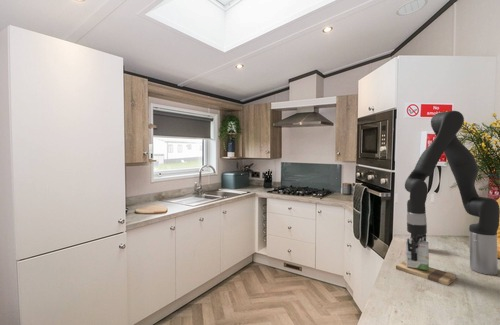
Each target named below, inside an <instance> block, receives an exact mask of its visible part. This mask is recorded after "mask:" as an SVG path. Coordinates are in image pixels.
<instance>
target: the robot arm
mask: <svg viewBox="0 0 500 325" xmlns="http://www.w3.org/2000/svg"><path fill="white" fill-rule="evenodd" d="M464 122H465V118H464V115H463V113H462V112H460V111H458V110H448V111H442V112H437V113H435V114H434V115H433V116H432V117H431V118H430V125H431V129H432V130H433V133H434V134H435V138H434V139H433V141H432V142H431V143H430V144H429V145H428V147H426V148H425V150H424V151H423V152H422V153H421V155H420V156H419V158H418V161H417V162H416V164H415V167H414V169H413V170H412V171H411V173H410V174H409V175H408V177H407V178H406V179H405V183H404V189H405V191H407V192H408V193H409V199H408V200H407V202H406V212H407V213H406V231H407V232H408V233H409V234H410V238H406V240H407V243H408V251H409V252H411V260H413V261H417V250H418V248H419V246H420V242H423V241H427V233H428V224H427V214H426V203H427V198H428V185H427V183H426V181H425V180H426V179H427V178H429V177H430V176H431V175H432V174H433V173H434V171H435V169H436V167H437V165H438V163H439V161H440V159H441V157H442V155H443V154H444V155H445V158H446V160H447V162H448V165H449V167H450V170H451V173H452V175H453V177H454V180H455V182H456V185H457V188H458V190H459V194H460V197H461V202H462V206H463V208H464V211H465V212H466V213H467V214H469V215H471V216H474V217H477V218H478V222H477V223H471V224H470V225H469V227H468V231H469V232H468V233H469V236H468V237H469V268H470V269H471V270H472V271H473V272H476V273H479V274H484V275H494V276H495V275H498V274H499V273H498V271H499V270H498V269H499V268H498V262H499V261H498V230H499V228H500V205H499V202H498V201H497V200H496V199H494V198H491V197H485V196H480V195H479V194H478V192H477V189H476V185H475V184H476V180H477V178H478V174H479V166H478V164H477V162H476V159H475V157H474V155H473V154H472V152H471V151H470V150H469V148H467V147H466V146H465V145H464V144H463V143H462V142H461V141H460V139H459V138H458V136H457V134H458V132H460V130H461V129H462V127H463V125H464ZM415 245H417V246H415ZM410 247H411V248H410Z"/></svg>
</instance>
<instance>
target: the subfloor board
mask: <svg viewBox="0 0 500 325" xmlns="http://www.w3.org/2000/svg"><path fill="white" fill-rule="evenodd" d="M395 270H397V271H401V272H404V273H406V274H407V273H408V274H410V275H414V276H416V277H420V278H423V279H426V280H429V281H432V282H435V283H438V284H442V285H445V286H446V287H447V286H449V285H450V284H451V283H452V282H454V281H455V280H456V279H457V274H454V273H452V272H448V271H445V270H440V269H439V268H438V269H437V268H433V267H430V266H429V270H423V269H418V268H412V267H407V266H406V259H405V260H404V261H402V262H400V263H398V264H397V265H396V264H395Z"/></svg>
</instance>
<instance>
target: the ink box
mask: <svg viewBox="0 0 500 325" xmlns="http://www.w3.org/2000/svg"><path fill="white" fill-rule="evenodd" d="M415 246H417V245H415ZM410 248H411V247H410ZM429 248H430V247H429V241H427V240H426V241H423V242H420V246H419V248H418V250H417V261H413V260H411V252H409V251H408V243H407V239H406V240H405V260H406V266H407V267H412V268H418V269H423V270H429V267H430V264H429V263H430V261H429V259H430V258H429V256H430V255H429V251H430V250H429Z"/></svg>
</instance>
